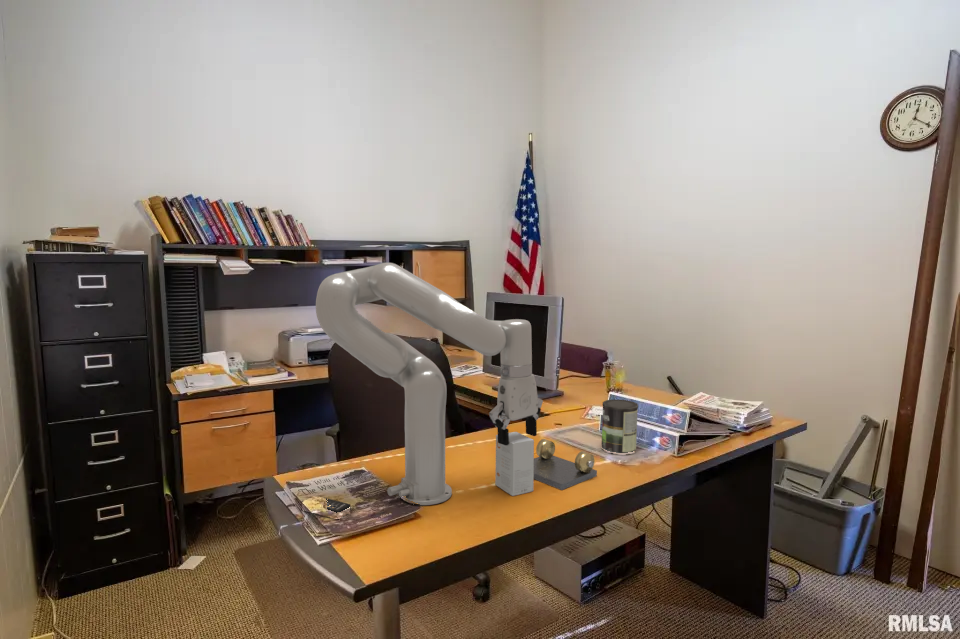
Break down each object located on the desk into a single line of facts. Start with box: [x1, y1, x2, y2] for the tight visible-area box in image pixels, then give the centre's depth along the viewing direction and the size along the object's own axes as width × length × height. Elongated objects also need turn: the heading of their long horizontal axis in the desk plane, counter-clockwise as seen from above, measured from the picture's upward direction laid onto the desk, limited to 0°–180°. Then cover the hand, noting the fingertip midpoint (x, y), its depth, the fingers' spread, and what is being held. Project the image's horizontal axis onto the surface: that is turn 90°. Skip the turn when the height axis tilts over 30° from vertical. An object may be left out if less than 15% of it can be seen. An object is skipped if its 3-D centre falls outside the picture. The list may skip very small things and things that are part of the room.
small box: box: [494, 431, 535, 497], centre depth 140 cm, size 8×6×13 cm
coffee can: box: [601, 398, 639, 453], centre depth 169 cm, size 10×10×14 cm
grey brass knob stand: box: [534, 438, 598, 491], centre depth 150 cm, size 14×18×6 cm
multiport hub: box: [325, 497, 351, 513], centre depth 127 cm, size 4×11×2 cm, turn 63°
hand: (517, 439), depth 139 cm, fingers open, 9 cm apart
